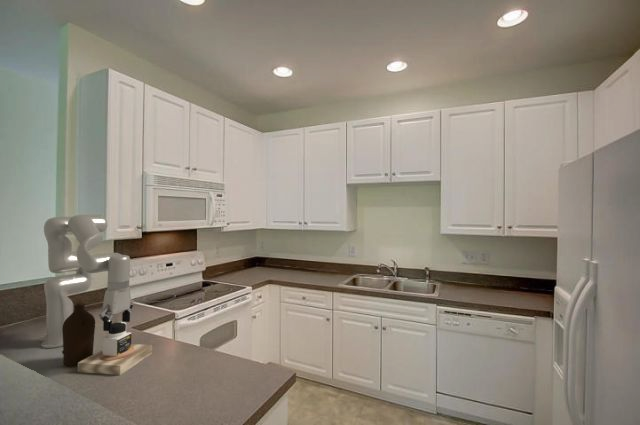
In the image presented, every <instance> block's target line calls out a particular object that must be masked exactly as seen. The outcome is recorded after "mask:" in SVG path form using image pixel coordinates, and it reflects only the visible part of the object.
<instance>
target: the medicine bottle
mask: <svg viewBox="0 0 640 425" xmlns="http://www.w3.org/2000/svg"><path fill="white" fill-rule="evenodd" d="M131 344H132V332H129V331H128V332H127V322H122V321H115V322H112V330H111V331H108V335H107V336H104V337H103V338H102V350H103V355H106V356H115V357H118V356H119V355H121V354H123V353H125V352H127V351H129V350H130V349H131Z"/></svg>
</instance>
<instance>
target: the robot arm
mask: <svg viewBox="0 0 640 425" xmlns="http://www.w3.org/2000/svg"><path fill="white" fill-rule="evenodd" d="M107 229H108V221H107V219H106V218H105V217H104V216H102V215H101V214H77V215H73V216H55V217H51V218H48V219H47V220H46V221H45V223H44V225H43V233H44V237H45V239H46V241H47V257H48V258H47V259H48V260H47V261H48V270H49V271H50V272H51V273H52V274H62V273H71V272H75V273H72V274H64V275H63V274H62V275H58V276H53V277H51V278H48V279H47V280H46V281H45V282H44V284H43V288H44V289H43V291H44V294H45V301H46V313H45V314H46V319H45V320H46V321H45V322H46V323H45V324H46V325H45V326H46V327H45V332H43V333H42V335H40V339H43V342H41V346H40V347H41V348H43V349H56V348H60V347H63V333H62V327H63V324H64V321H65V320H66V319H67V318H68V317H69V316H70V315H71V314H72V313H73V312H74V303H73V300H72V299H70V298H69V297H68V296H70V295H73V294H79V293H83V292H86V291H88V290H89V289H90V287H91V285H92V274H97V273H103V272H105V273H106V272H107V289H106V290H105V293H104V297H103V301H102V309H101V310H100V312H98V316H99V319H100V320H101V321H102V322H103V325H102V326H103V327H102V328H103V332H104V331H105V332H109V331H111V330H112V324H113V321H112V318H113V317H114V316H116V315H117V314H120V313H122V314H121V317H122V318H121V322H125V323H129V322H131V312H132V308H133V306H134V303H135V300H134V299H132V298H131V287H130V276H131V275H130V274H131V273H130V271H131V270H130V269H131V258H130V256H129V255H127V254H122V253H119V252H108V253H106V252H105V253H100V254H99V253H97V254H92V253H91V252H90V250H92V249H94V248H96V247H98V246H99V245H100V244H101V243H102V242H103V240H104V236H103V233H102V232H105V231H106V230H107ZM66 235H73V236H74V237H75V239H76V240H77V241H78V243H79V245H78V246H77V249H76V251H73V244H72V241H71V239H70V238H69V237H68V236H66Z"/></svg>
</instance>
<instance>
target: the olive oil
mask: <svg viewBox="0 0 640 425" xmlns="http://www.w3.org/2000/svg"><path fill="white" fill-rule="evenodd" d="M85 308H86V304H85V300H83V299H82V300H76V301H75V302H74V304H73V313H72V314H71V315H70V316H69V317H68V318H67V319H66V320H65V321H64V324H63V327H62V333H63V346H62V351H61V354H62V355H63V357H62V358H63V366H64V367H67V368H73V367H78V362H80V361H82V360H84V359H86V358H88V357H90V356H91V355H93V354H94V344H95V343H94V342H95V332H96V331H95V330H96V319H95V317H94V315H93V314H92V313H90V312H89V311H87V309H85Z"/></svg>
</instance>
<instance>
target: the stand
mask: <svg viewBox="0 0 640 425" xmlns="http://www.w3.org/2000/svg"><path fill="white" fill-rule="evenodd" d="M152 354H153V345H152V344H137V343H136V344H135V343H131V349H130V350H129V351H127V352H125V353H123V354H121V355H119V356H118V357H115V356H106V355H103V349H101V350H99V351H96V352H95V353H93V355H91V356H90V357H88V358H86V359H84V360H82V361H80V362H78V366H77V372H78V373H88V374H103V375H113V376H114V375H116V376H121V375H123V374H124V373H126V372H127V371H128V370H130V369H131V368H133V367H134V366H136V365H138V363H140V362H141V361H143V360H144V359H146V358H147V357H149V356H150V355H152Z"/></svg>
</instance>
